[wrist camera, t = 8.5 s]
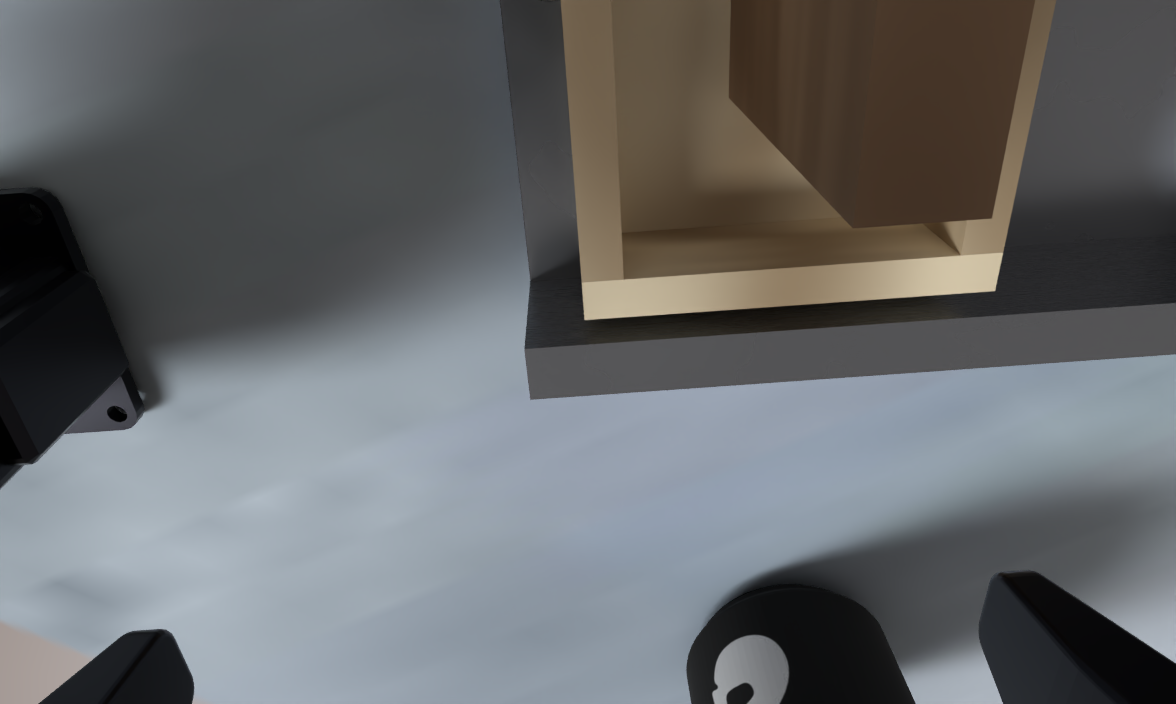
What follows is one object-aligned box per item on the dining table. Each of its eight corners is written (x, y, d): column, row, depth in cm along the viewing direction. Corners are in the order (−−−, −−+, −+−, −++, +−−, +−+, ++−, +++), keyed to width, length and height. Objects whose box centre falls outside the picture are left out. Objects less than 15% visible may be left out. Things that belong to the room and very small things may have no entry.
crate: (580, 256, 18) (593, 486, 11) (540, -294, 13) (512, -569, 6) (925, 231, 18) (1177, 446, 11) (1012, -330, 13) (1591, -652, 6)
